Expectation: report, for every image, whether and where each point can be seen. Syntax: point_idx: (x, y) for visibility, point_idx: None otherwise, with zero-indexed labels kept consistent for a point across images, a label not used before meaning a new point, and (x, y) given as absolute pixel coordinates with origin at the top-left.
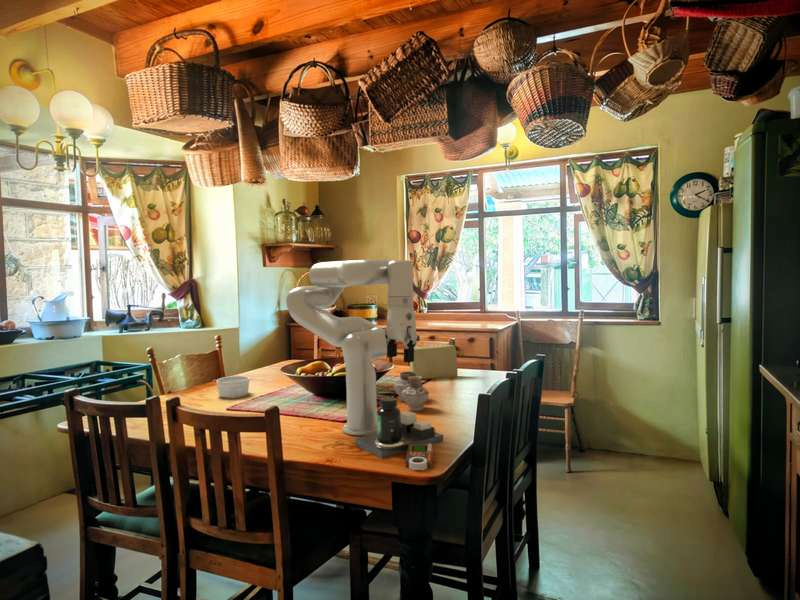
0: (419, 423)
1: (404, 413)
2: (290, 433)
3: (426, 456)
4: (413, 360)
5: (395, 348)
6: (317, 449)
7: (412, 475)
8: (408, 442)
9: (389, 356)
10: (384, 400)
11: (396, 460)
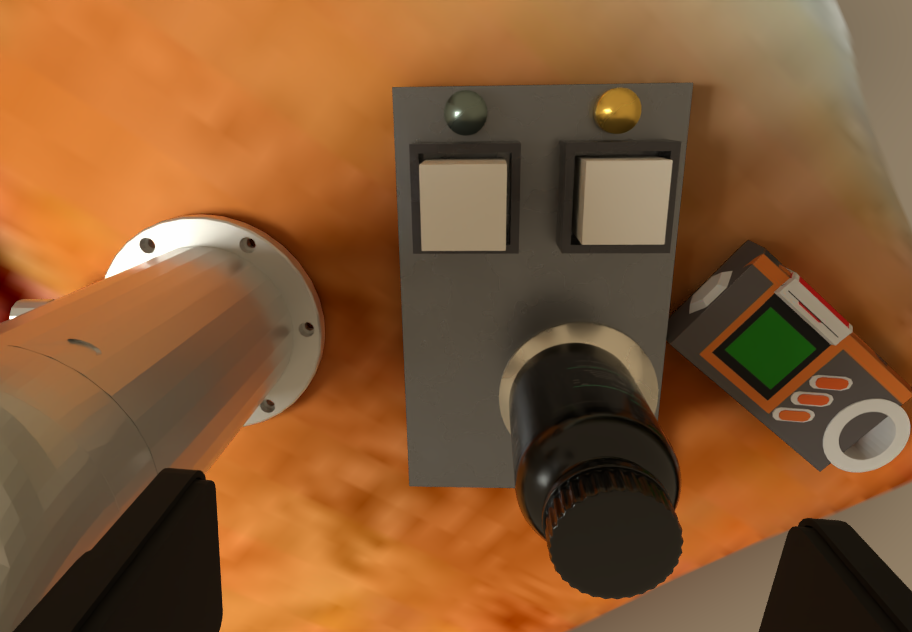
0: (625, 228)
1: (442, 224)
2: None
3: (868, 381)
4: (844, 534)
5: (133, 625)
6: (366, 597)
7: (889, 484)
8: (648, 328)
9: (217, 615)
10: (624, 584)
11: (710, 438)
